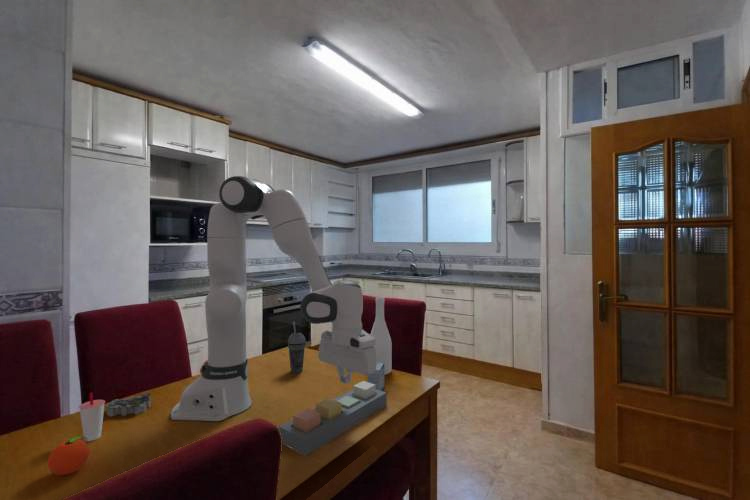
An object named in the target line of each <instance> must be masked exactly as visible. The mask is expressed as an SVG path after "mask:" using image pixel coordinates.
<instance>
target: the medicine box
mask: <svg viewBox="0 0 750 500" xmlns="http://www.w3.org/2000/svg"><path fill="white" fill-rule="evenodd" d="M367 382H368V383H372V384H375V385H376V389H377V390H380V391H383V390H384V389H385V375H384V363H376V370H375V372H374V373H373V374H370V375H368V376H367ZM383 392H384V391H383Z"/></svg>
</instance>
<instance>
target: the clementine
mask: <svg viewBox="0 0 750 500" xmlns="http://www.w3.org/2000/svg"><path fill="white" fill-rule="evenodd" d="M81 438H83V439H84V438H85V439H86V440H87V438H86V437H84V436H75V437H73V438H72V437H71V438H70V439H67V440H64V441H63V442H61V443H59V444H58V445H57V446H55V448H54V449H53V450H52V451H51V453H50V454H49V457H48V459H47V466H48V469H49V470H50V472H51V473H53V474H55V475H57V476H58V475H59V476H66V475H71V474H72V473H74V472H77V471H78V470H79V469H80V468H82V466H84V464H85V463H86V462H87V460H88V458H89V455H90V447H89V445H88V444H87V442H89V441H88V440H87V441H84V440H83V439H81Z"/></svg>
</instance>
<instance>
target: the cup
mask: <svg viewBox="0 0 750 500" xmlns="http://www.w3.org/2000/svg"><path fill="white" fill-rule="evenodd" d="M93 395H94V394H93V392H90V393H89V401H86V402H84V403H81V404H80V405H78V408H79V413H80V414H79V415H80V421H81V428H82V435H83V436H82V437H86V438H87V440H88V441H87V440H86V439H85V438H83V441H84V442H93V441H95V440H98V439H99V438H101V436H102V431H103V430H102V427H103V419H104V411H105V403H106V400H104V399H95V400H94V399H93V398H94V396H93Z"/></svg>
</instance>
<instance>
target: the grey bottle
mask: <svg viewBox="0 0 750 500" xmlns="http://www.w3.org/2000/svg"><path fill="white" fill-rule="evenodd" d="M374 300H375V318H374V322H373V326H372V329H371V332H370V333H369V335H371V336H373V337H374V338H375V339H376V343H375V345H373V347H374V348H375V350H376V363H384V376H385V375H388V374H390V373H391V372H392V368H393V366H392V358H393V357H392V354H393V352H392V350H393V349H392V348H393V347H392V346H393V344H392V338H391V335H390V332H389V329H388V326H387V322H386V320H385V319H386V318H385V301H386V300H385V297H384V296H376V297H375V299H374Z"/></svg>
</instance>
